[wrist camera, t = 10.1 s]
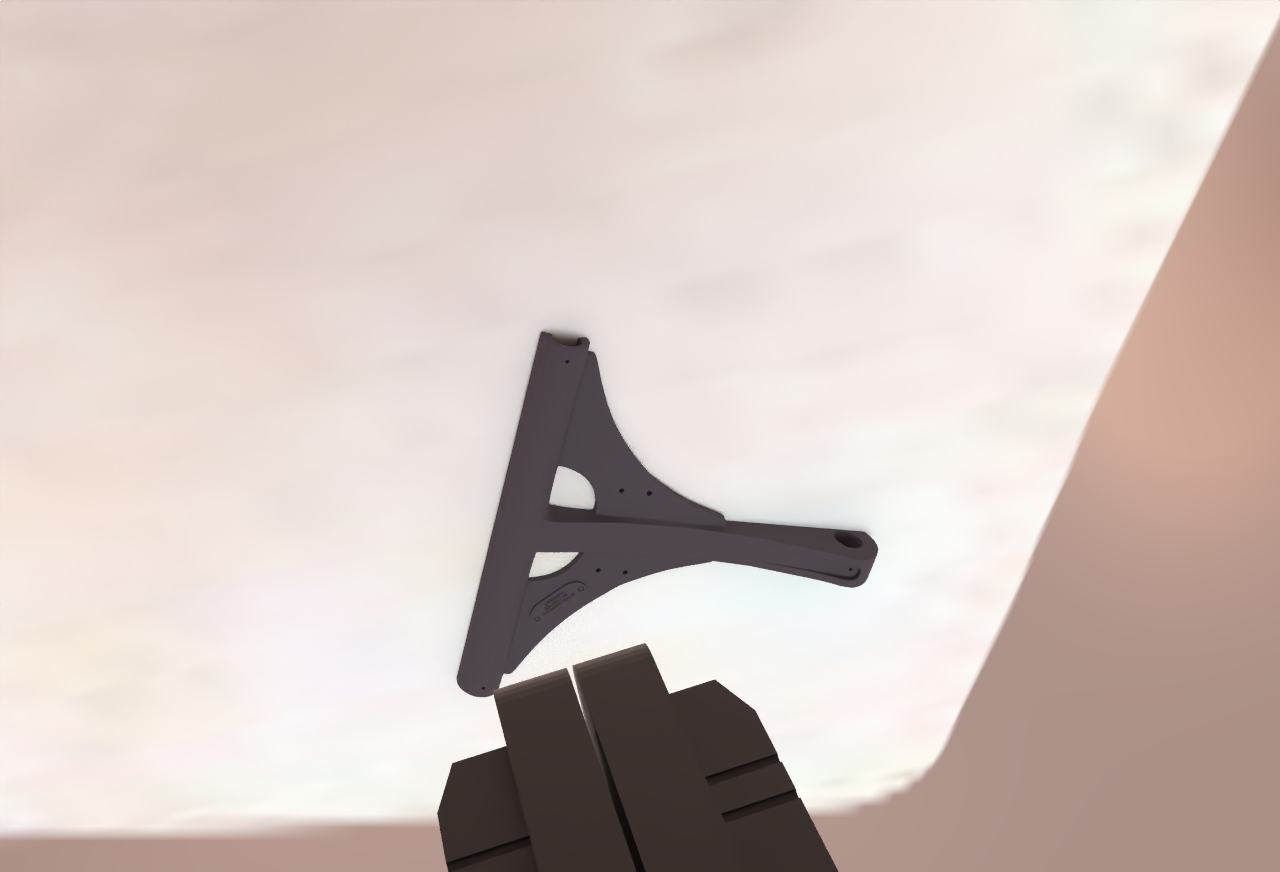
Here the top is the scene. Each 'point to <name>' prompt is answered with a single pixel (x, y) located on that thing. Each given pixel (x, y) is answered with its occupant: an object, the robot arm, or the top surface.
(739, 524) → the bracket
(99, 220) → the top surface
